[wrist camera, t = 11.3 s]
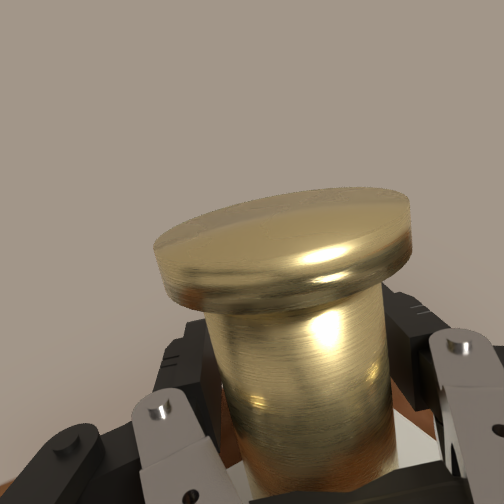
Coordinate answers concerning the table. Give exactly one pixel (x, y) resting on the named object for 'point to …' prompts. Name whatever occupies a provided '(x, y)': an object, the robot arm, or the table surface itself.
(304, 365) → the gold flanged cylinder
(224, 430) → the table surface
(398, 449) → the frame
